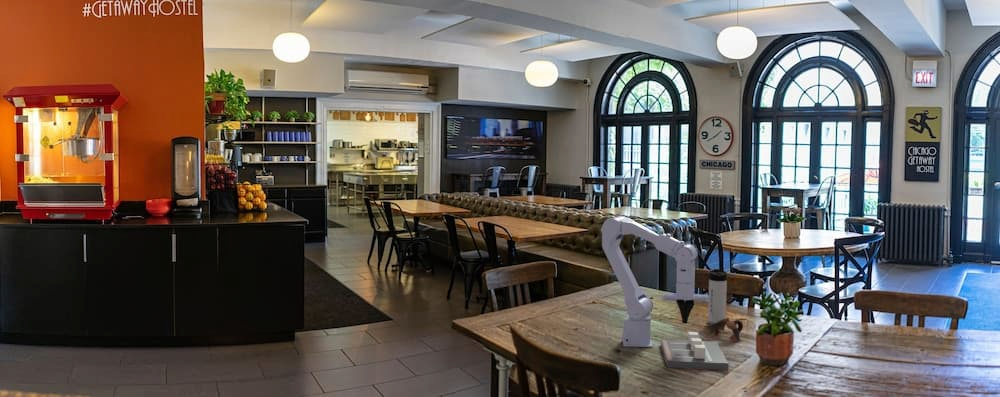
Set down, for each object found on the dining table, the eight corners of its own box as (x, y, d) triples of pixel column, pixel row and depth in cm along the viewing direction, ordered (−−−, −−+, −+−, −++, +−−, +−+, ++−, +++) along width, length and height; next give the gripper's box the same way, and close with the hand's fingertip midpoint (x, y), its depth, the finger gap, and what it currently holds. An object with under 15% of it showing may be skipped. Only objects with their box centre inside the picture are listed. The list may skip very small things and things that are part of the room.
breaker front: (695, 358, 215) (695, 347, 215) (693, 355, 218) (694, 344, 218) (705, 358, 215) (705, 348, 215) (703, 355, 218) (703, 345, 218)
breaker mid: (691, 351, 222) (692, 340, 222) (690, 348, 225) (690, 338, 225) (701, 351, 222) (701, 341, 222) (700, 348, 225) (700, 338, 225)
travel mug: (723, 321, 265) (724, 269, 264) (727, 326, 259) (728, 272, 257) (706, 320, 266) (707, 268, 264) (709, 325, 260) (711, 272, 258)
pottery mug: (727, 346, 237) (716, 323, 239) (712, 350, 245) (701, 328, 247) (754, 332, 241) (742, 310, 243) (738, 337, 250) (727, 316, 252)
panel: (667, 367, 214) (667, 360, 214) (660, 345, 236) (660, 339, 236) (728, 369, 212) (728, 362, 212) (716, 347, 234) (716, 341, 233)
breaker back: (689, 344, 229) (689, 334, 229) (687, 341, 232) (688, 331, 232) (698, 345, 229) (698, 334, 229) (697, 342, 232) (697, 332, 232)
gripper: (663, 283, 225) (663, 325, 226) (710, 285, 223) (709, 326, 224) (661, 279, 232) (661, 319, 233) (707, 280, 230) (706, 320, 231)
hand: (684, 322), depth 229 cm, fingers closed
